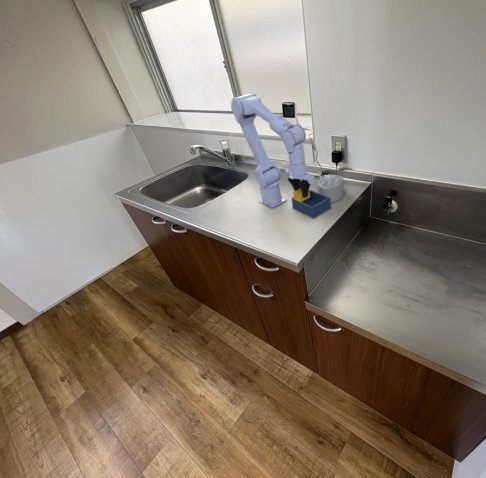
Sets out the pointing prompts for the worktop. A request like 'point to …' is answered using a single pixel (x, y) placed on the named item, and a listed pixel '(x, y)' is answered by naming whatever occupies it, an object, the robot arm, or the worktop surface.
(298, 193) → the duck
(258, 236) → the worktop surface
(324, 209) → the open box
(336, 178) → the lumpy-topped squat cylinder
